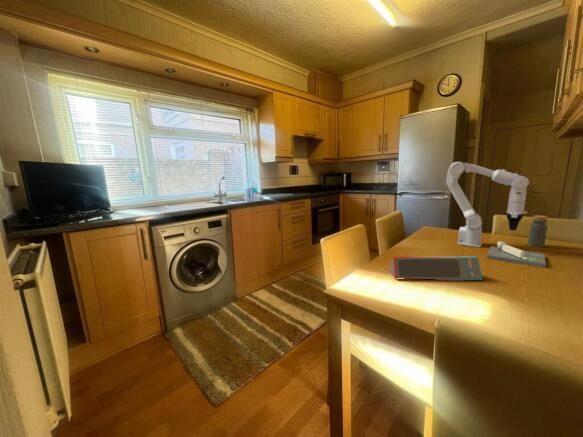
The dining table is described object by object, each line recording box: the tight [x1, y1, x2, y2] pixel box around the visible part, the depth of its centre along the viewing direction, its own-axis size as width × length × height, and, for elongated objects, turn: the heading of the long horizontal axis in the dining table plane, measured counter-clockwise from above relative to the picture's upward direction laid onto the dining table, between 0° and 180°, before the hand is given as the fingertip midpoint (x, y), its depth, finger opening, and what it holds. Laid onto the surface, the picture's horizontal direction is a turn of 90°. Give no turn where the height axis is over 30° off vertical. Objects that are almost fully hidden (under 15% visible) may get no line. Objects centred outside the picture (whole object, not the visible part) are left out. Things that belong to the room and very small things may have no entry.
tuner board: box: [486, 246, 547, 269], centre depth 106 cm, size 18×15×2 cm
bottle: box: [527, 214, 548, 249], centre depth 118 cm, size 6×6×15 cm
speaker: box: [389, 255, 483, 281], centre depth 92 cm, size 9×10×30 cm
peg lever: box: [496, 240, 527, 259], centre depth 106 cm, size 15×3×3 cm, turn 176°
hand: (512, 230), depth 115 cm, fingers closed
